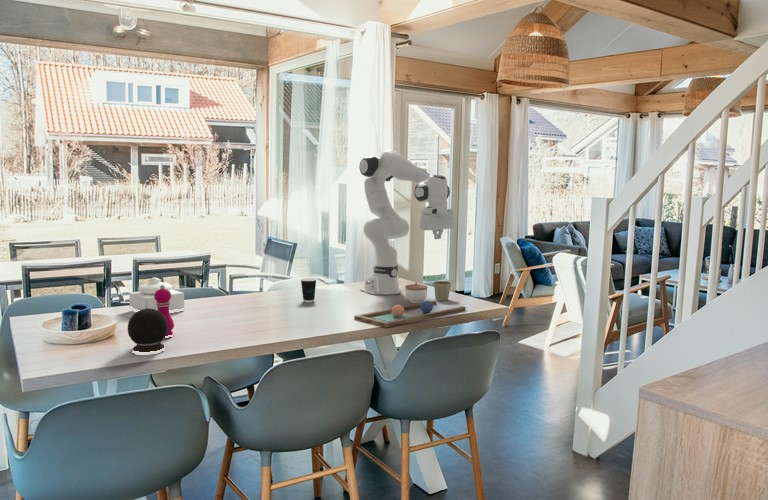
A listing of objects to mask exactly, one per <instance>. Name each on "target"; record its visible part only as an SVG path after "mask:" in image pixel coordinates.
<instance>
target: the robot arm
mask: <svg viewBox="0 0 768 500" xmlns="http://www.w3.org/2000/svg"><path fill="white" fill-rule="evenodd" d="M359 172H360V173H361V175H362V176H363V177H365V179H364V183H363V184H364V192H365V193H364V194H365V197H366V201H367V204H368V207H369V211H370V213H372V214H373V215H374V216H375V217H378V218H373V219H370V220H367V221H366V222H365V223H364V225H363V234H364V236H365V237H366V238H367V240H369V241H370V242H371V243H372V246H373V248H374V250H375V251H374V252H375V265H373V267H372V270H373V273H371V274H370V275H369V276H368V277H367V278H366V279H365V281H364V286H363V287H360V289H359V291H361V292H365V293H367V294H370V295H385V296H386V295H396V294H400V293H401V288H400V282H399V276H398V273H399V266H398V251H397V250H396V248H394V247H393V246H391V245H390V242H389V240H395V239H401V238H403V237H407V235H408V233H409V231H410V225H409V223H408V221H407V219H405V218H403V217H402V216H400V215H399V214H398V213H397V212H396V210H395V209H394V207H393V206H392V204H391V201H390V199H389V196H388V192H387V189H386V187H385V184H386V183H385V182H390V181H391V179H393V178H395V179H397V180H398V181H406V182H415V183H417V184H416V185H415V187H414V192H413V193H414V194H413V195H414V197H415V199H416V200H417V201H418V202H421V203H428V205H426V206H425V207H423V208H422V209H420V214H421V215H420V223H419V224H420V230H421V231H432V234H433V235H434V236H433V238H434V240H441V239H442V234H443V232H444V230H448V229H450V230H452V229H454V227H455V216H454V212H453V210H452V209H450V208H449V209H448V199H449V198H450V197H449V196H450V191H451V189H450V186H449V185H448V180H447V177H446V176H444V175H440V174H432V175H431V174H430V173H428V172H427V171H425V170H424V169H422V168H421V167H419V166H417V165H416V164H414V163H413V162H411V161H410V160H409V159H407V158H406V157H405V156H404V155H402V154H401V153H400V152H398V151H396V150H394V149H391V148H390V149H385V151H384V152H382V154H381V156H375V155H373V156H369V155H368V156H365V157H363V158H362V159H361V161H360V163H359Z"/></svg>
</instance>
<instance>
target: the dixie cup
mask: <svg viewBox="0 0 768 500" xmlns="http://www.w3.org/2000/svg"><path fill="white" fill-rule="evenodd" d="M317 280H318V279H317V278H315V277H304V278H300V284H301V293H302V300H303V302H304V301H305V302H304V303H313V302H312V301H315V296H316V286H317V285H316V284H317Z"/></svg>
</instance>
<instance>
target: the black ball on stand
mask: <svg viewBox="0 0 768 500" xmlns="http://www.w3.org/2000/svg"><path fill="white" fill-rule="evenodd" d="M167 331H168V323H167V320H166V318H165V316H164V315H163V314H162V313H161V312H159V311H157V310H155V309H148V308H147V309H142V310H140V311H138V312H136V313H134V314H133V315H132V316H131V317H130V318H129V320H128V323H127V334H128V336H129V338H130V339H131V341H132V342H133V343H134V344H136V345H135V346H133V347H132V349H133V350H134V351H139V352H150V351H157V350H160V349H162V348H164V346H165V345H164V343H162V341H163V340H165V339H164V338H165V336H166V334H167Z"/></svg>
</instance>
